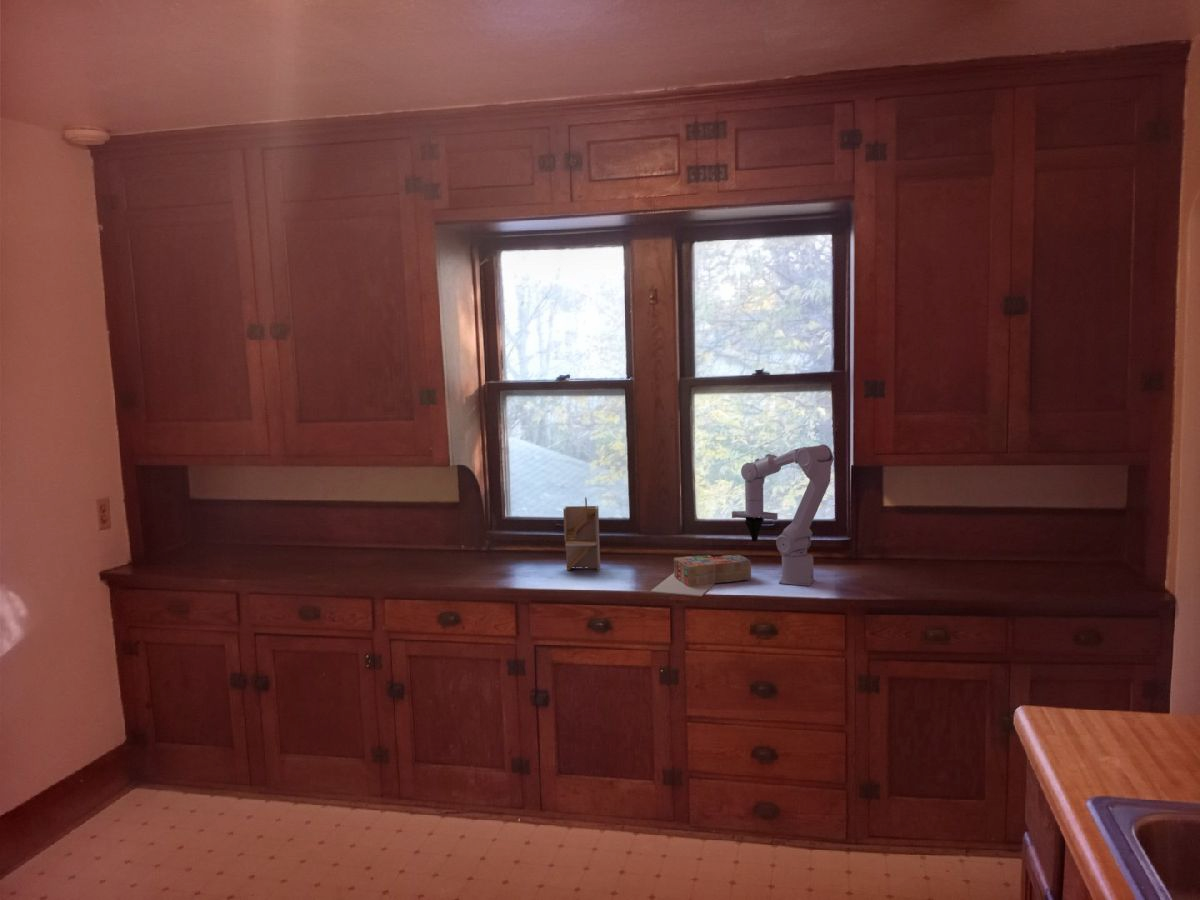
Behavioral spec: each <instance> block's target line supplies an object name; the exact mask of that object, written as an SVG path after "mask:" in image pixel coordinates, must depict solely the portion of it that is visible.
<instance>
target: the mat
mask: <svg viewBox="0 0 1200 900" xmlns="http://www.w3.org/2000/svg"><path fill="white" fill-rule="evenodd" d="M714 584H715V583H712V584H705V585H696V586H687V585H685V584H684V583H682V582H681V581H679V580H678V579H677V578H675V577H674V572H673V573H672V574H671V575H668V577H667V578H664V580H663V581H661V582H660V583H659V584H657V585H656V586H655V587H654V588H652V589H651V590H650V593H653V594H654V593H655V594H665V595H666V594H667V595H679V596H688V597H698V598H699V597H701V598H702V597H704V595H705V594H706V593H707V592H709V590H710V589H711V588H712V587H713V586H715V585H716V584H715V585H714Z"/></svg>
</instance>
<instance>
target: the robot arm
mask: <svg viewBox="0 0 1200 900" xmlns="http://www.w3.org/2000/svg"><path fill="white" fill-rule="evenodd" d="M834 461H835V457H834V454H833V451H832V450H831V448H830V447H829V446H828V445H826V444H819V445H814V446H803V447H800V448H794V449H792V450H789V451H787V452H785V453H783V454H781V455H779V456H778V455H775V454H771V453H767V454H764V457H762V458H756V459H754V461H753V462H745V463H744V464H743V465H742V467H741V469H740V473H741V477H742V478H743V480H744V487H745V489H744V492H745V493H744V495H745V498H744V500H745V502H744V503H745V504H744V505H745V510H737V511H736V510H733V511H732V512H731V519H745V520H744V522H745V525H746V526H747V528H748V531H749V533H750V537H751V541H752V542H757V541H759V540H758V539H759V534H760V531H761V528H762V525H763V523H764V522H765V521H764V520H773V521H777V520H778V519H779V518H778V512H769V511H768V512H767V511H764V484H765V479H766V477H769V476H770V475H773V474H776V473H779V472H780V471H781V468H782V467H783V466H786V465H787V466H788V465H789V464H793V463H794V464H797V465H798V466H799V467H800V469H801V471H802V472H803V473H804V475H805V477H806V478H807V479H809V482H808V484H807V486H806V488H805V491H804V493H803V495H802V498H801V500H800V502H799V505H798V507H797V509H796V512H795V514H794V516H793V519H792V521H791V523H790V524H788V525H787V526H786V527H785V528H783V531H782V533H780V534H779V535H778V536H777V537H776V541H775V544H776V545H775V546H776V548H777V550H778V552H779V553H780V555H781V578H780V579H779V581H778V584H780V583H781V584H782V585H793V586H795V585H796V586H805V587H806V586H811V585H812V583H813V581H814V579H815V578H814V556H813V554H808V549H809V548H810V547H811V544H812V542H811V541H812V536H813V531H812V530H811V529H810V528H811V525H812V523H813V520H814V519H815V516H816V515H817V513H818V510H819V508H820V505H821V504H822V501H823V498H824V496H825V494H826V492H827V490H828V488H829V485H830V483H831V474H832V465H833V462H834Z"/></svg>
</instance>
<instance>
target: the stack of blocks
mask: <svg viewBox="0 0 1200 900" xmlns="http://www.w3.org/2000/svg"><path fill="white" fill-rule="evenodd" d="M751 562H752V561H751V559H749V558H747V557H745V556H743V555H740V554H732V555H731V554H726V555H720V556H718V555H717V556H712V555H710V554H705V555H704V554H703V555H692V556H683V557H682V556H680V557H674V558H673V573H674V577H675V578H677V579H678V580H679V581H681V582H682V583H684V584H685V585H687V586H696V585H705V584H712V583H716V584H719V583H720V584H721V583H729V582H730V583H731V582H741V581H745V580H746V581H747V580H751V579H752V563H751Z"/></svg>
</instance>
